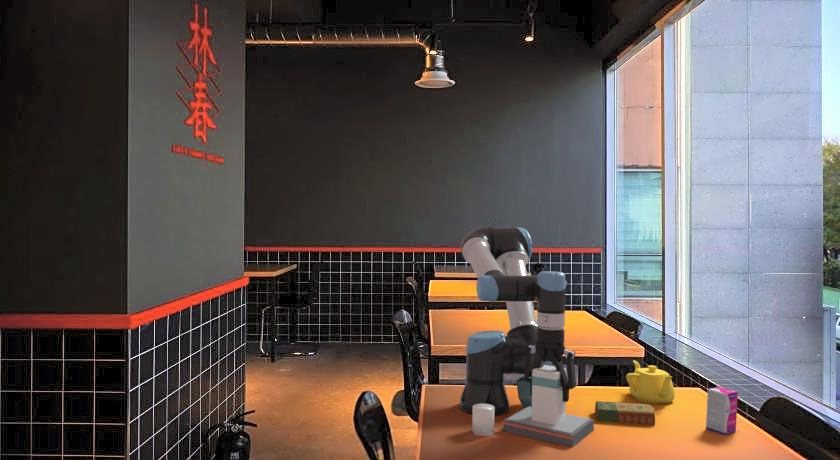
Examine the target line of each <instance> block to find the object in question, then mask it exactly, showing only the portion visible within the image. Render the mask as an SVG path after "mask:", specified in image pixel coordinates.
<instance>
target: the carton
mask: <svg viewBox="0 0 840 460" xmlns="http://www.w3.org/2000/svg"><path fill="white" fill-rule="evenodd" d="M594 404H595V406H594V414H595V417H596V419H597V421H598V422H602V423H603V422H604V423H605V422H606V423H616V424H617V423H618V424H628V425H642V426H656V413H655V410H654V408H653V407H652V406H651V405H652V404H649V403H636V402H635V403H633V402H632V403H630V402H619V401H618V402H617V401H601V400H596V401H595V403H594Z"/></svg>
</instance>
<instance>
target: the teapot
mask: <svg viewBox="0 0 840 460" xmlns="http://www.w3.org/2000/svg"><path fill="white" fill-rule="evenodd" d="M632 362H633V365H634V372H632V373H631V372H629V373H627V374H626V376H625V377H626V381H627V383H628V385H629V392H630V394H631V396H632V397H633V398H634V399H635V400H637V401H640V402H643V403H644V404H650V405H663V404H664V403H665V404H671V403H672V402H673V401H674V399H675V396H676V395H675V388H674V387H675V386H674V384H673V381H672V378H673V376H672V375H671V376H670V374H669V373H668V372H667V371H665V370H663V369H659V368H658V367H657V366H656V365H650V364H649V365H647V367H643V368H642V367H641V365H640V363H639V362H638V361H637V360H632Z"/></svg>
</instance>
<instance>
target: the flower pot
mask: <svg viewBox="0 0 840 460" xmlns="http://www.w3.org/2000/svg"><path fill="white" fill-rule="evenodd" d="M515 381H516V389H517V390H516V391H517V396H518V400H519V401H520V404H521V405H522V407H523V409H524V408H526V407H527V406H530V407H532V396H531V394H530V383H529V382H527V381H524V375H523V376H521V377H520V378H518V379H516V380H515Z"/></svg>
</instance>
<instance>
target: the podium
mask: <svg viewBox="0 0 840 460" xmlns="http://www.w3.org/2000/svg"><path fill="white" fill-rule="evenodd" d="M594 423H595V420H594V419H593V418H589V417H584V416H579V415H574V414H569V413H565V419H564V420H562V421H561V422H560V423H558V424H557V425H552V424H548V423H543V422H538V421H534V420H532V407H530V406H527V407H526V408H524V407H523V408H522V409H520V410H519V411H517V412H515V413H513V414H512V415H510V416H508V417H507V418H504V419H503V420H502V432H506V433H510V434H513V435H518V436H522V437H527V438H531V439H536V440H540V441H544V442H548V443H553V444H556V445H562V446H565V447H569V448H574V447H575V446H576V445H577V444H579V443H580V442H581V441H582V440H584V439H585V438H586V437H588V435H590V434H592V433H593V431H594V429H595V424H594Z"/></svg>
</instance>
